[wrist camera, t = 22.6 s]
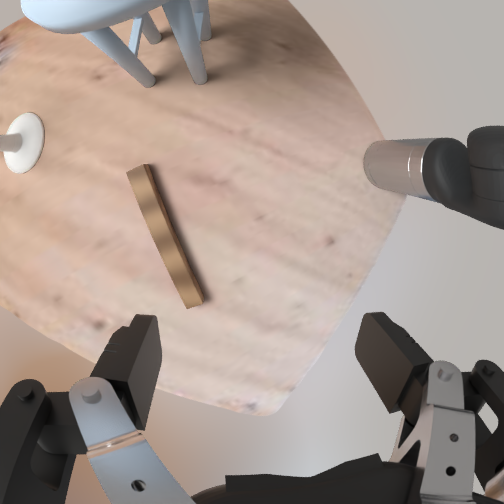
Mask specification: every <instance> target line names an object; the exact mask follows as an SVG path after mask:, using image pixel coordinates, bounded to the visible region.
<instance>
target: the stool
mask: <svg viewBox="0 0 504 504" xmlns="http://www.w3.org/2000/svg"><path fill="white" fill-rule="evenodd" d="M161 5H162V7H163V10H164V12H165V14H166V17H167V19H168V21H169V24H170V26H171V28H172V31H173V33H174V35H175V38H176V40H177V43H178V45H179V47H180V50H181V52H182V54H183V57H184V59H185V62H186V64H187V66H188V69H189V71H190V74H191V76H192V78H193V81H194V83H196V84H198V85H202V84H204V83H205V82H206V81H207V73H206V69H205V64H204V60H203V56H202V51H201V47H200V43H201V41H207V40H209V39H210V38H211V36H212V33H211V24H210V15H209V6H208V0H21V7H22V11H23V13H24V14H25V16H26V17H27V18H29V19H30V20H32V21H33V22H35V23H37V24H38V25H40V26H42V27H43V28H45V29H47V30H49V31H52V32H55V33H61V34H76V33H81V34H82V35H83V36H85V37H86V38H87V39H88V40H90V41H91V42H92V43H93V44H95V45H96V46H97V47H98V48H100V49H101V50H102V51H103V52H104V53H106V54H107V55H108V56H109V57H110V58H112V59H113V60H114V61H115V62H116V63H118V64H119V65H120V66H121V67H122V68H123V69H125V70H126V71H127V72H128V73H129V74H130V75H132V76H133V77H134V78H135V79H136V80H137V81H139V82H140V83H141V84H142V85H143V86H144V87H147V88H149V87H152V86H153V85H154V84H155V81H156V79H155V77H154V76H153V75H152V74H151V73H150V71H149V70H148V69H147V68H146V67H145V66H144V65H143V63H142V62H141V61H140V60H139V59H138V58H137V55H138V49H139V44H140V38H141V33H142V32H143V34H144V35H145V37H146V38H147V40H148V41H149V43H150V44H157V43H159V42H160V41H161V38H162V37H161V35H160V33H159V31H158V29H157V27H156V25H155V24H154V22H153V20H152V18H151V16H150V14H149V13H148V11H150V10H152V9H155V8H157V7H159V6H161ZM132 18H133V19H134V22H133V27H132V31H131V36H130V41H129V47H127V46H126V45H125V44H124V43H123V41H122V40H121V39H120V38H119V37H118V36H117V35H116V34H115V33H114V32H113V31H112V30H111V29H110V28H109V26H112V25H115V24H118V23H121V22H124V21H127V20H129V19H132Z"/></svg>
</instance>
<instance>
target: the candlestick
mask: <svg viewBox="0 0 504 504" xmlns="http://www.w3.org/2000/svg"><path fill="white" fill-rule="evenodd" d="M43 144H44V127H43V123H42V121H41V119H40V118H39V117H38V116H37V115H36V114H34V113H24V114H22V115H20V116H18V117H17V118H16V119H15V120H14V121H13V123H12V124H11V126H10V127H9V129H8V131H7V134H6V135H0V151H4V157H5V161H6V164H7V166H8V167H9V169H10V170H11V171H13V172H15V173H25V172H27V171H29V170H30V169H31V168H32V167H33V166H34V165H35V164H36V162H37V161H38V159H39V157H40V155H41V152H42V149H43Z"/></svg>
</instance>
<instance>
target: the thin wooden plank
mask: <svg viewBox="0 0 504 504" xmlns="http://www.w3.org/2000/svg"><path fill="white" fill-rule="evenodd" d="M126 173H127V176H128V179H129V181H130V184H131V187H132V189H133V192H134V194H135V197H136V199H137V202H138V204H139V207H140V209H141V212H142V214H143V216H144V219H145V221H146V224H147V226H148V228H149V231H150V233H151V235H152V237H153V240H154V242H155V244H156V246H157V249H158V251H159V253H160V255H161V257H162V259H163V262H164V264H165V266H166V268H167V270H168V272H169V274H170V276H171V278H172V281H173V283H174V285H175V287H176V289H177V291H178V293H179V295H180V297H181V299H182V301H183V303H184V304H185V306H186V308H187V309H189V308H192V307H195V306H198V305H201V304H203V300H204V295H203V293H202V291H201V289H200V287H199V285H198V283H197V281H196V278H195V276H194V274H193V272H192V270H191V267H190V265H189V263H188V261H187V259H186V256H185V254H184V252H183V250H182V247H181V245H180V243H179V240H178V238H177V236H176V233H175V231H174V229H173V226H172V224H171V222H170V219H169V217H168V214H167V212H166V209H165V207H164V205H163V202H162V200H161V197H160V195H159V192H158V190H157V187H156V184H155V182H154V179H153V177H152V174H151V171H150V169H149V166H148V164H143V165H141V166H139V167H136V168H134V169H132V170H130V171H128V172H126Z"/></svg>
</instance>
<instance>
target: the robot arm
mask: <svg viewBox="0 0 504 504" xmlns="http://www.w3.org/2000/svg"><path fill="white" fill-rule="evenodd" d="M364 170H365V173H366V175H367V177H368V179H369V180H370V182H371V183H372V184H373V185H375V186H377V187H378V188H382V189H387V190H391V191H395V192H399V193H403V194H407V195H411V196H415V197H419V198H423V199H427V200H431V201H434V202H438V203H441V204H443V205H444V206H445V207H447V208H449V209H452V210H455V211H457V212H460V213H462V214H465V215H467V216H470V217H472V218H474V219H476V220H479V221H481V222H483V223H486V224H488V225H490V226H493V227H497V228H500V229H503V230H504V126H486V127H481V128H477V129H475V130H473V131H472V132H471V133H470V134H469V135H468V138H467V148H466V146H465V145H464V144H462V143H461V142H460V141H458V140H456V139H453V138H425V139H403V140H386V141H378V142H375V143H373V144H372V145H371V146H370V147H369V148H368V149H367V151H366V153H365V157H364ZM355 355H356V358H357V360H358V362H359V363H360V365H361V367H362V368H363V370H364V372H365V373H366V375H367V376H368V378H369V380H370V381H371V383H372V385H373V386H374V388H375V390H376V391H377V393H378V395H379V397H380V398H381V400H382V402H383V403H384V405H385V407H386V408H387V410H388V412H389V413H394V412H397V411H400V410H401V411H402V412H403V414H404V415H403V417H402V418H401V422H400V427H399V430H398V434H397V438H396V442H395V446H394V449H393V453H392V456H391V458H390V460H389V462H385V461H384V462H382V461H381V458H380V456H379V454H378V453H377V454H373V455H370V456H366V457H363V458H359V459H355V460H351V461H347V462H344V463H342V464H340V465H338V466H336V467H334V468H331V469H329V470H327V471H324V472H322V473H320V474H317V475H315V476H312V477H293V476H281V475H272V474H258V475H226V476H225V478H226V484H225V485H220V486H216V487H212V488H209V489H206V490H204V491H201V492H199V493H197V494H195V495H193V496H191V497H190V496H189V495H188V494H187V493H186V492H185V491H184V489H183V488H182V487H181V486H180V485H179V483H178V482H177V481H176V480H175V479H174V477H173V476H172V475H171V474H170V472H169V471H168V470H167V468H166V467H165V466H164V464H163V463H162V462H161V460H160V459H159V458H158V456H157V455H156V453H155V452H154V451H153V449H152V448H151V446H150V445H149V443H148V442H147V440H146V439H145V438H144V436H143V435H142V434H141V433H139V432H138V431H137V430H145V427H146V423H147V418H148V414H149V410H150V406H151V402H152V397H153V393H154V390H155V386H156V382H157V378H158V374H159V371H160V367H161V362H162V348H161V342H160V335H159V328H158V321H157V317H156V316H155V315H140V314H136V315H135V317H134V318H133V320H132V322H131V324H130V326H129V327H125V326H122V327H121V328H120V329H118V330H117V331H116V332H115V333H113V335H112V337H111V338H110V340H109V342H108V344H107V345H106V347H105V349H104V352H103V353H102V354H101V356H100V358H99V360H98V362H97V364H96V366H95V367H94V370H93V371H92V373H91V375H90V377H87V378H83V379H81V380H79V381H77V382H76V383H75V384H74V385H73V386H72V387H71V389H70V391H69V392H46V390H45V388H44V386H43V385H42V384H41V383H40V382H39V381H37V380H33V379H26V380H22V381H20V382H18V383H16V384H15V385H14V386H13V387H12V388H11V390H10V391H9V393H8V395H7V396H6V398H5V400H4V402H3V403H2V405H1V407H0V504H65V500H66V495H67V491H68V486H69V482H70V478H71V474H72V470H73V466H74V462H75V459H76V455H77V454H87V456H88V459H89V461H90V464H91V466H92V468H93V470H94V472H95V474H96V476H97V478H98V480H99V482H100V484H101V486H102V488H103V490H104V491H105V493H106V495H107V497H108V498H109V500H110V502H111V504H504V372H503V371H502V370H501V369H500V368H499V367H498V366H497V365H496V364H495V363H493V362H491V361H488V360H479V361H477V363H476V364H475V366H474V368H473V370H472V372H460V370H459V369H458V368H457V367H456V366H455V365H454V364H452V363H450V362H447V361H435V362H434V361H433V360H432V359H431V358H430V357H429V356H428V354H427V353H426V352H425V351H424V350H423V349H422V348H421V347H420V346H419V344H418V343H415V340H414V339H413V338H412V337H410V335H409V334H408V333H407V332H406V330H405V329H404V328H402V327H400V326H399V325H397V324H395V323H394V322H393V321H392V320H391V319H390V318H389V317H388V316H387V315H386V314H385V313H384V312H374V313H366V314H365V315H364V316H363V319H362V322H361V326H360V330H359V333H358V337H357V341H356V344H355ZM485 403H487V404H488V405H489V406H490V408H491V409H492V410H493V412H494V413H495V414H496V416H497V417H498V427H497V429H496V430H495V431H494V433H493V434H491V432H490V431H489V429H488V428H487V426H486V425H485V423H484V422H483V420H482V419H481V418H480V416H479V415H478V413H479V411H480V410H481V409H482V407H483V406H484V404H485ZM136 429H137V430H136ZM474 472H475V474H476V476H477V478H478V480H479V482H480V483H481V486H482V487H483V490H484V491H485V494H484V495H481V494H478V493H475V492H472V490H473V481H474Z"/></svg>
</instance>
